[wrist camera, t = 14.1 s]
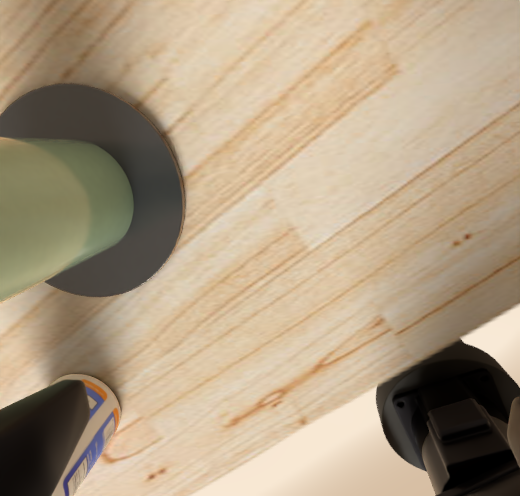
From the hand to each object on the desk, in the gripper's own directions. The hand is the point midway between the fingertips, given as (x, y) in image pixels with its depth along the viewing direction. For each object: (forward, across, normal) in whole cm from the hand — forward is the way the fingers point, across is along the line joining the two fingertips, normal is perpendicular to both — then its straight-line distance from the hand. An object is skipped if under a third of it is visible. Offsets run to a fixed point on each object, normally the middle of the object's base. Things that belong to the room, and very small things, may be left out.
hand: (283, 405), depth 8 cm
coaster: (+13, +12, -3) cm, 18 cm away
